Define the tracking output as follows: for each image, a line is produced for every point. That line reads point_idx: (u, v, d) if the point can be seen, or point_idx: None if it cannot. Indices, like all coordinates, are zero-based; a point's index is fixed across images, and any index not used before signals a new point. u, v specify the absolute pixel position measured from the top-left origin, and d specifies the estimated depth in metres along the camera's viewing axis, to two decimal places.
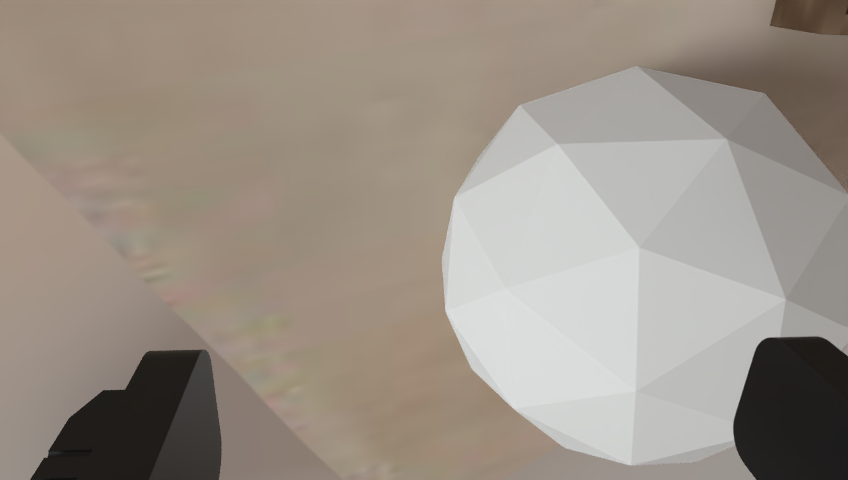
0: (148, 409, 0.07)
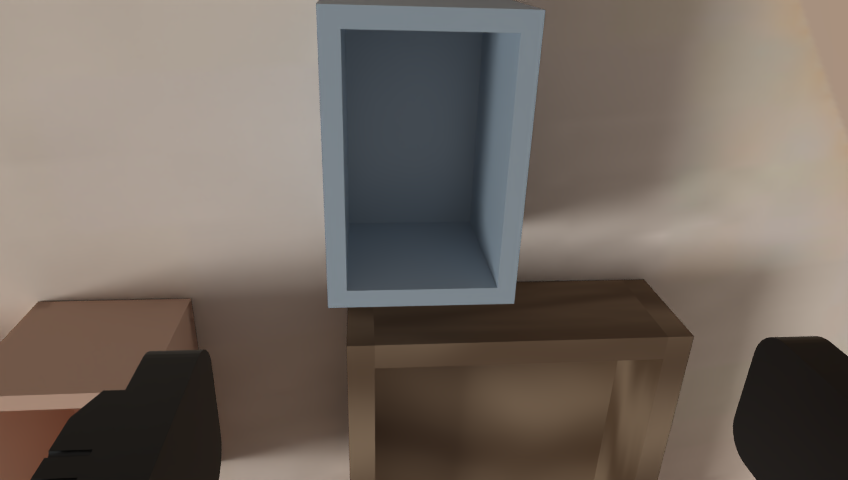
0: (148, 409, 0.07)
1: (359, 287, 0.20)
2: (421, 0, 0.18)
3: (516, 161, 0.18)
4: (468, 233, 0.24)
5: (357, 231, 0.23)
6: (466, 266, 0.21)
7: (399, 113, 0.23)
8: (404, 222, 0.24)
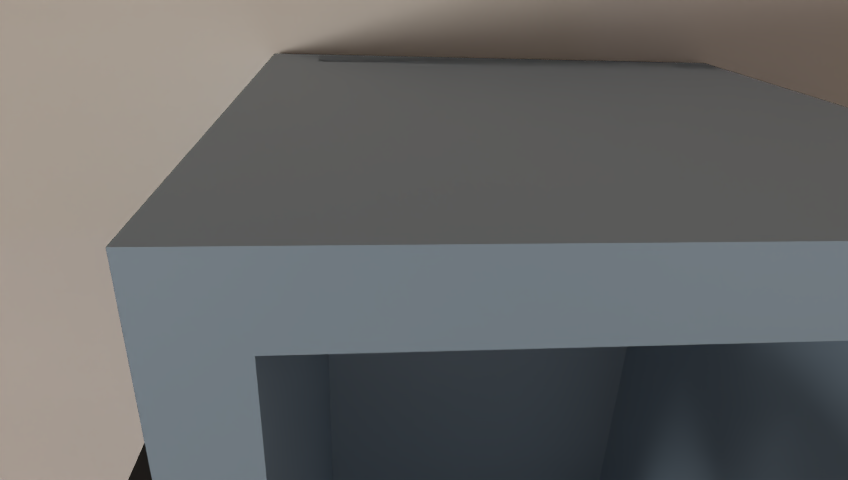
0: None
1: None
2: (573, 120, 0.05)
3: None
4: None
5: None
6: None
7: None
8: None
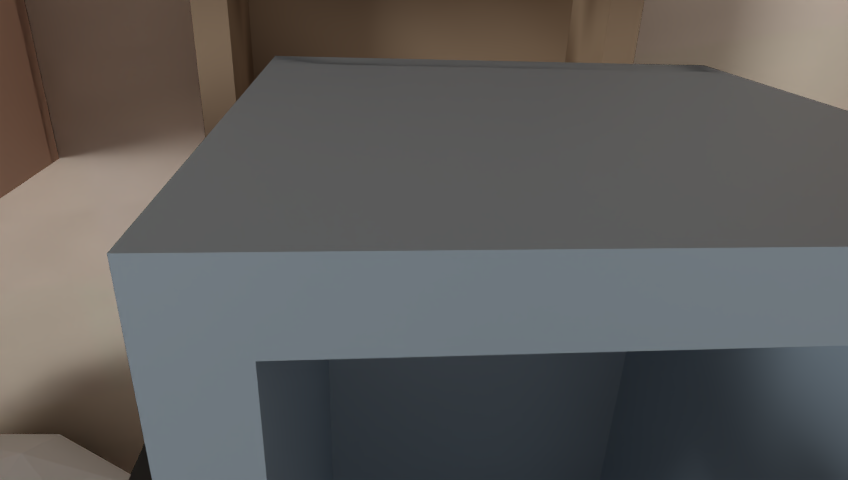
0: None
1: None
2: (572, 124, 0.05)
3: None
4: None
5: None
6: None
7: None
8: None
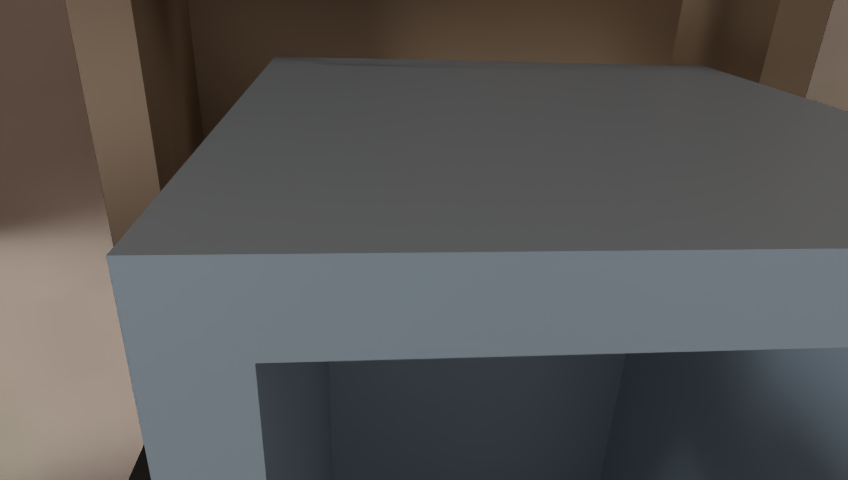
0: None
1: None
2: (572, 125, 0.05)
3: None
4: None
5: None
6: None
7: None
8: None
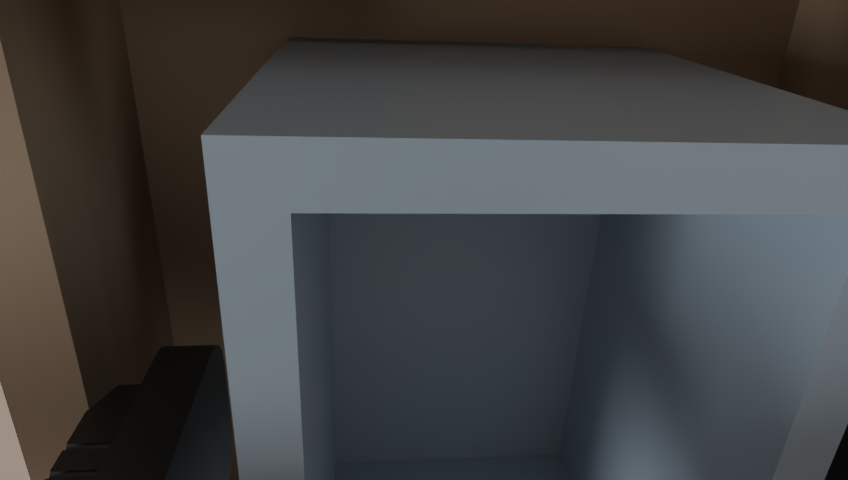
0: (164, 402, 0.07)
1: None
2: (521, 81, 0.07)
3: None
4: None
5: None
6: None
7: (437, 277, 0.11)
8: (439, 459, 0.13)
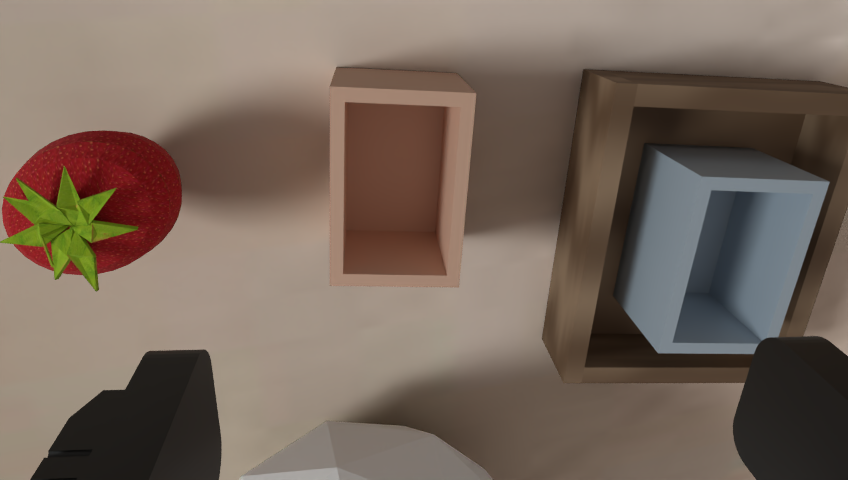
0: (148, 409, 0.07)
1: (677, 340, 0.30)
2: (734, 163, 0.29)
3: (794, 266, 0.29)
4: (715, 302, 0.34)
5: None
6: (733, 327, 0.32)
7: None
8: None
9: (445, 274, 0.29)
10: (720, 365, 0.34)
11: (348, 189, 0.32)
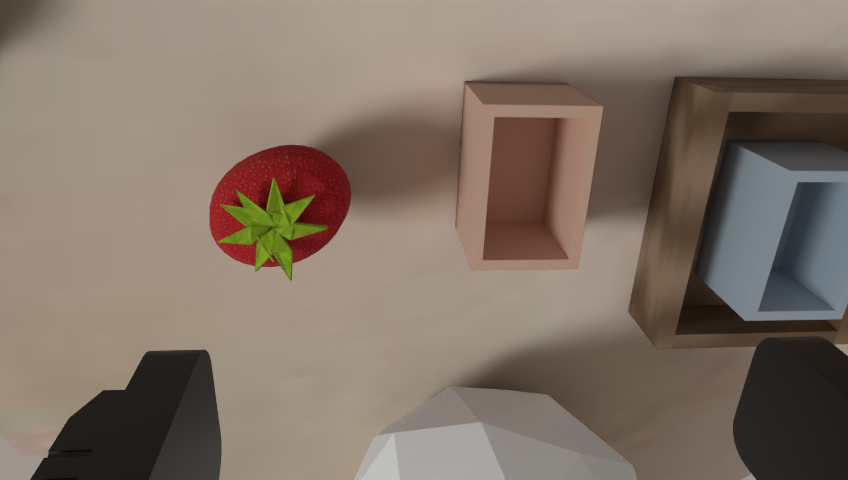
0: (148, 409, 0.07)
1: (761, 309, 0.35)
2: (811, 157, 0.34)
3: None
4: (785, 275, 0.39)
5: None
6: (806, 297, 0.37)
7: None
8: None
9: (567, 258, 0.34)
10: (790, 330, 0.39)
11: None
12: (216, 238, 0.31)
